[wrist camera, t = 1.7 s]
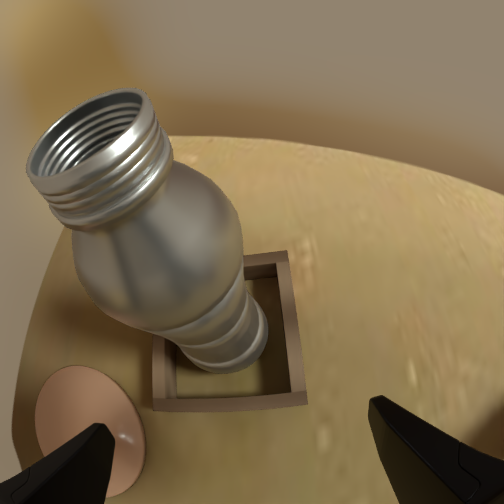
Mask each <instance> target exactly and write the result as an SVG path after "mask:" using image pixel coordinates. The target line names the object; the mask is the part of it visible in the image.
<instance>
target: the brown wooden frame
mask: <svg viewBox="0 0 504 504" xmlns="http://www.w3.org/2000/svg"><path fill="white" fill-rule="evenodd" d="M243 274H244V280H251V279H259V278H268V277H276V276H277V278H278V286H279V294H280V302H281V310H282V318H283V327H284V335H285V344H286V353H287V361H288V370H289V380H290V389H291V393H282V394H273V395H263V396H250V397H235V398H212V399H177V389H176V344H175V343H174V342H172V341H171V340H168V339H166V338H164V337H162V336H159V335H156V334H153V350H152V389H153V411H166V412H231V411H249V410H262V409H273V408H283V407H291V406H299V405H306V404H308V401H307V392H306V383H305V374H304V366H303V358H302V350H301V343H300V335H299V327H298V320H297V313H296V306H295V299H294V292H293V285H292V279H291V272H290V266H289V259H288V253H287V250H285V251H277V252H269V253H261V254H253V255H245V256H243Z"/></svg>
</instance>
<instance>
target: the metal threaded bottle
mask: <svg viewBox="0 0 504 504" xmlns="http://www.w3.org/2000/svg"><path fill="white" fill-rule="evenodd" d="M173 159H174V157H173V148H172V146H171V143H170V141H169V138H168V136H167V134H166V132H165V131H164V130H163V129H162V128H161V127H160V125H159V122H158V120H157V117H156V114H155V111H154V109H153V106H152V103H151V101H150V99H149V98H148V97H147V94H146V93H145V92H144V91H142V90H140V89H137V88H121V89H116V90H111V91H108V92H105V93H103V94H99V95H97V96H95V97H92V98H90V99H88V100H87V101H84V102H83V103H81V104H79V105H77V106H76V107H74V108H73V109H72V110H70V111H68V112H67V113H66V114H65V115H63V116H62V117H60V118H59V119H58V120H57V121H56V122H55V123H54V124H52V126H50V127H49V128H48V130H47V131H46V132H45V133H44V134H43V135H42V136H41V137H40V139H39V140H38V141H37V143H36V144H35V146H34V147H33V149H32V151H31V153H30V155H29V157H28V160H27V164H26V173H27V175H28V177H29V178H30V181H31V183H32V184H33V186H34V187H35V188H36V189H37V190H38V192H39V193H40V194H41V195H42V196H43V197H44V199H45V200H46V201H47V202H48V203H49V207H50V209H51V211H52V213H53V215H54V216H55V217H56V218H57V219H58V220H59V221H60V222H61V223H62V224H63V225H64V226H65V227H67V228H69V229H72V249H73V257H74V264H75V269H76V272H77V275H78V278H79V280H80V282H81V283H82V285H83V287H84V288H85V290H86V292H87V293H88V295H89V296H90V298H91V299H92V301H93V302H94V304H95V305H96V306H97V307H98V308H99V309H100V310H101V311H103V312H104V313H105V314H106V315H108V316H110V317H112V318H114V319H115V320H117V321H119V322H122V323H124V324H126V325H128V326H130V327H133V328H136V329H139V330H143V331H146V332H149V333H152V334H156V335H159V336H162V337H164V338H166V339H168V340H171V341H172V342H174V343H175V344H177V345H178V346H179V347H180V349H181V350H182V352H183V353H184V354H185V355H186V356H187V358H188V359H189V360H190V361H191V362H192V363H193V364H195V365H196V366H198V367H199V368H201V369H203V370H206V371H208V372H212V373H217V374H228V373H233V372H238V371H240V370H243V369H245V368H247V367H249V366H250V365H252V364H253V363H254V362H255V361H256V360H257V359H258V358H259V356H260V355H261V353H262V352H263V350H264V348H265V345H266V343H267V338H268V323H267V319H266V316H265V314H264V312H263V310H262V308H261V307H260V306H259V304H258V303H257V302H256V301H255V299H254V298H253V297H252V296H251V295H250V294H249V292H248V291H247V289H246V284H245V280H244V274H243V237H242V230H241V224H240V221H239V217H238V213H237V211H236V210H235V208H234V206H233V204H232V203H231V201H230V200H229V199H228V197H227V196H226V195H225V194H224V193H223V191H222V190H221V189H220V188H219V187H218V186H217V185H216V184H215V183H214V182H213V181H212V180H211V179H210V178H208V177H207V176H205V175H203V174H202V173H200V172H198V171H196V170H194V169H193V168H191V167H189V166H187V165H185V164H183V163H180V162H177V161H174V160H173Z"/></svg>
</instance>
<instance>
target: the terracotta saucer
mask: <svg viewBox="0 0 504 504" xmlns="http://www.w3.org/2000/svg"><path fill="white" fill-rule="evenodd" d="M93 423H104V424H105V425H106V426H107V427H108V429H109V430H110V432H111V433H112V435H113V436H114V438H115V442H116V444H115V450H114V457H113V464H112V471H111V477H110V481H109V485H108V489H107V494H106V498H107V497H112V496H115V495H118V494H121V493H123V492H125V491H126V490H128V489H129V488H131V487H132V486H133V485H134V483H135V482H136V481H137V479H138V478H139V476H140V474H141V472H142V470H143V466H144V463H145V456H146V441H145V433H144V429H143V425H142V422H141V419H140V416H139V414H138V412H137V409H136V407H135V405H134V404H133V402H132V400H131V399H130V397H129V396H128V395H127V393H126V392H125V391H124V389H123V388H122V387H121V386H120V385H119V384H118V383H117V382H116V381H114V380H113V379H112V378H111V377H109V376H108V375H106V374H104V373H102V372H100V371H98V370H95V369H92V368H89V367H84V366H69V367H66V368H63V369H60V370H59V371H57V372H55V373H54V374H53V375H52V376H51V377H50V378H49V379H48V380H47V381H46V382H45V384H44V385H43V387H42V389H41V391H40V393H39V396H38V399H37V403H36V409H35V428H36V434H37V438H38V442H39V445H40V448H41V450H42V453H43V455H44V457H45V456H47V455H48V454H50V453H51V452H53V451H54V450H56V449H57V448H59V447H60V446H62V445H63V444H65V443H66V442H67V441H69V440H70V439H72V438H73V437H75V436H76V435H78V434H79V433H80V432H82V431H83V430H85V429H86V428H87V427H89V426H90V425H92V424H93Z"/></svg>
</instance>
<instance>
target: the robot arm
mask: <svg viewBox="0 0 504 504" xmlns="http://www.w3.org/2000/svg"><path fill="white" fill-rule="evenodd" d="M368 420H369V424H370V427H371V430H372V433H373V437H374V440H375V444H376V447H377V451H378V454H379V457H380V460H381V462H382V465H383V467H384V469H385V471H386V474H387V476H388V478H389V481H390V483H391V485H392V488H393V490H394V492H395V495H396V497H397V499H398V502H399V504H504V461H503V460H500V459H497V458H495V457H492V456H489V455H487V454H485V453H482V452H480V451H478V450H476V449H474V448H472V447H470V446H468V445H466V444H464V443H463V442H459V440H457V439H455V438H453V437H452V436H450V435H448V434H446V433H445V432H443V431H441V430H439V429H438V428H436V427H434V426H433V425H431V424H429V423H427V422H426V421H424V420H422V419H421V418H419V417H417V416H416V415H414V414H412V413H411V412H409V411H407V410H406V409H404V408H403V407H401V406H399V405H398V404H396V403H394V402H393V401H391V400H390V399H388V398H386V397H385V396H383V395H379V396H376V397H373V398H371V399H370V401H369V410H368ZM115 444H116V442H115V438H114V436H113V435H112V433H111V432H110V430H109V429H108V427H107V426H106V425H105V424H104V423H93V424H92V425H90V426H89V427H87V428H86V429H85V430H83V431H82V432H80V433H79V434H78V435H76V436H75V437H73V438H72V439H70V440H69V441H67V442H66V443H65V444H63V445H62V446H60V447H59V448H57V449H56V450H54V451H53V452H51V453H50V454H48V455H47V456H45V457H44V458H42V459H41V460H39V461H38V462H36V463H35V464H33V465H32V466H31V467H28V468H27V469H25V470H24V471H22V472H21V473H19V474H17V475H16V476H14V477H12V478H10V479H8V480H6V481H4V482H2V483H0V504H104V502H105V498H106V494H107V489H108V485H109V481H110V477H111V471H112V464H113V457H114V450H115Z"/></svg>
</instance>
